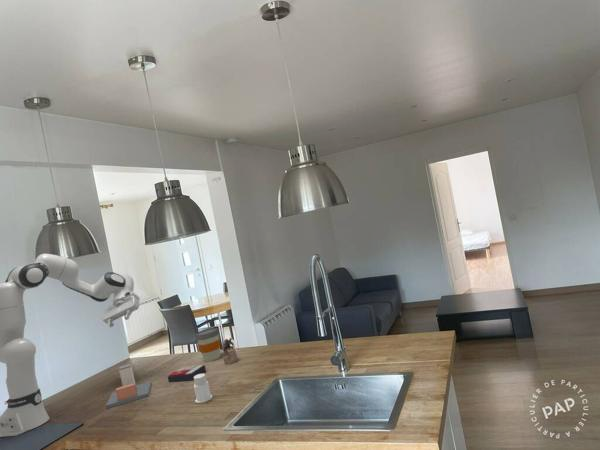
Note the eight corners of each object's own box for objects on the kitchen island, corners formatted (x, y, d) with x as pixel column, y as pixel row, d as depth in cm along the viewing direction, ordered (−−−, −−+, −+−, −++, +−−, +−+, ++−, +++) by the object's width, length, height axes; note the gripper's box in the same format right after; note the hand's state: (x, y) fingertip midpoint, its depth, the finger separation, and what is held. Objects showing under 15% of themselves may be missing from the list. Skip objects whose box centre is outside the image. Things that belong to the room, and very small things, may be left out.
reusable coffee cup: (213, 362, 231) (207, 334, 231) (196, 362, 238) (190, 335, 238) (228, 353, 242) (222, 327, 242) (212, 354, 249) (206, 328, 249)
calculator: (180, 366, 224) (204, 363, 219) (183, 375, 224) (206, 371, 219) (166, 375, 214) (191, 372, 208) (168, 384, 214) (193, 381, 208)
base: (106, 408, 195) (103, 394, 195) (113, 395, 213) (110, 382, 213) (148, 396, 200) (145, 382, 200) (151, 384, 217) (148, 371, 217)
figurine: (226, 360, 229) (221, 338, 229) (239, 358, 229) (234, 335, 229) (223, 365, 222) (218, 342, 222) (236, 362, 222) (231, 339, 222)
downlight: (191, 401, 182) (187, 377, 181) (206, 393, 186) (202, 371, 186) (201, 405, 176) (196, 381, 175) (216, 398, 180) (211, 374, 180)
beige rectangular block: (123, 393, 206) (118, 369, 206) (125, 390, 210) (119, 366, 210) (135, 390, 208) (130, 365, 207) (136, 387, 212) (131, 363, 212)
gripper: (101, 305, 230) (97, 327, 220) (134, 290, 227) (131, 311, 217) (110, 312, 234) (106, 333, 224) (142, 296, 231) (139, 317, 221)
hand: (118, 322), depth 220 cm, fingers open, 8 cm apart
